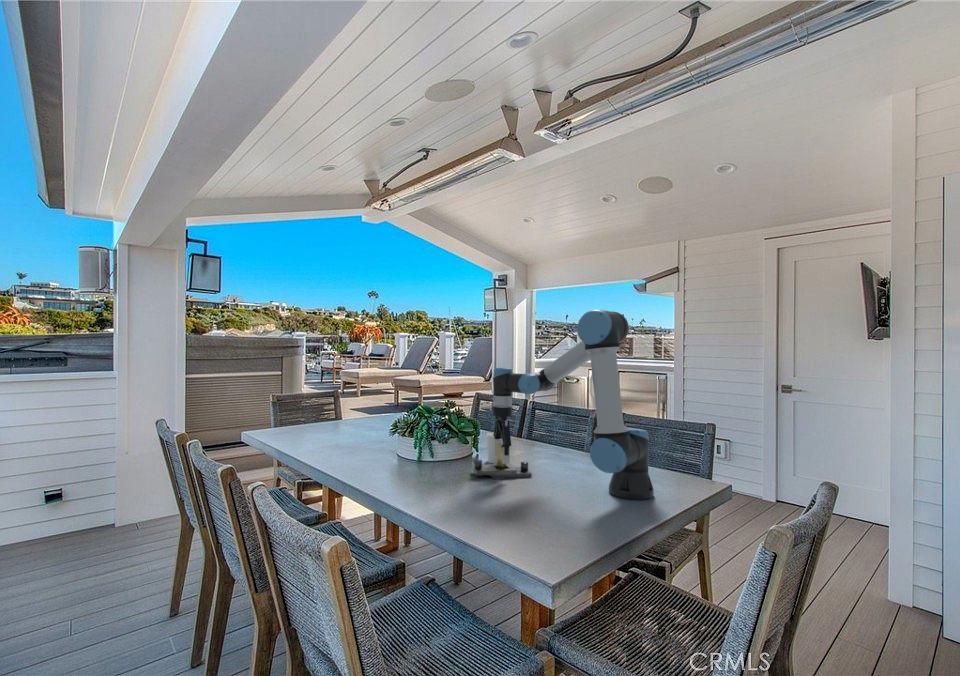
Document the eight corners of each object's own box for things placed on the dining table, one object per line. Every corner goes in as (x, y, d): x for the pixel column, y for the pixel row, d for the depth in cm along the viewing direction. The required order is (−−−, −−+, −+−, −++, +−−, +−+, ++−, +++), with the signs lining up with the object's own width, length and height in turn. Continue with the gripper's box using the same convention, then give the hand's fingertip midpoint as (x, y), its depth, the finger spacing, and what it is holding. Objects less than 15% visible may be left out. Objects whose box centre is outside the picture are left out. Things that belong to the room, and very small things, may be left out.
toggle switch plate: (524, 470, 199) (524, 455, 199) (531, 477, 189) (531, 461, 189) (472, 472, 195) (472, 457, 195) (476, 479, 185) (476, 463, 185)
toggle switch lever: (505, 473, 195) (505, 443, 195) (507, 475, 191) (507, 445, 191) (495, 473, 194) (495, 443, 194) (497, 476, 190) (498, 446, 190)
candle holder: (508, 464, 208) (509, 436, 209) (486, 464, 209) (486, 436, 209) (507, 459, 218) (508, 432, 218) (486, 458, 218) (486, 432, 219)
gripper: (486, 402, 204) (486, 452, 204) (500, 410, 180) (499, 467, 179) (504, 402, 205) (503, 451, 205) (519, 410, 181) (519, 466, 181)
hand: (501, 459), depth 192 cm, fingers open, 13 cm apart
